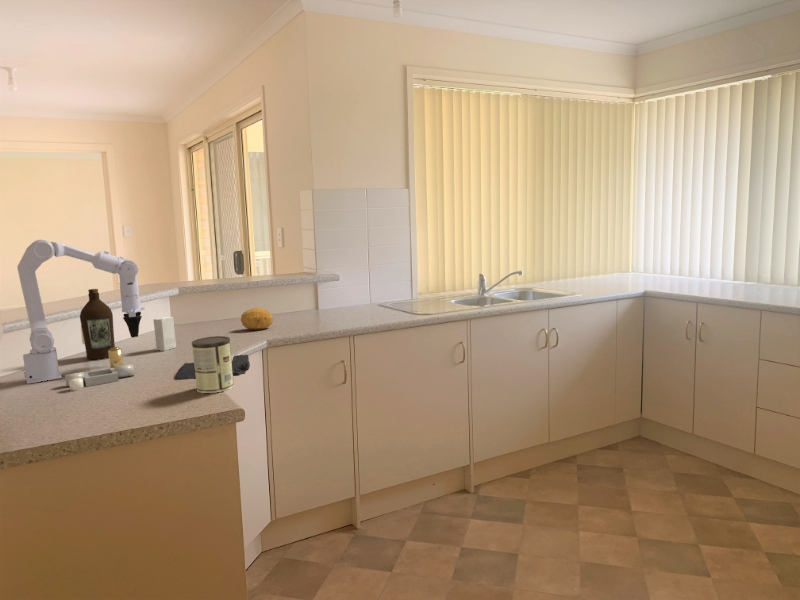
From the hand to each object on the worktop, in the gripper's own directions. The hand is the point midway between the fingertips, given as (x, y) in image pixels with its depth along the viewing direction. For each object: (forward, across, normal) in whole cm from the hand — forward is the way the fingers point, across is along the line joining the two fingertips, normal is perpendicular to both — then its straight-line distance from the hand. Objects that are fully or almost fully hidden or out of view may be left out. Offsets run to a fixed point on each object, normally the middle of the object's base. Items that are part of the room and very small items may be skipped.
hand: (134, 335), depth 206 cm
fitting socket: (+10, -18, +11) cm, 23 cm away
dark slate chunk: (+11, -28, -22) cm, 37 cm away
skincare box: (+10, +19, -10) cm, 24 cm away
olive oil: (+10, +20, +12) cm, 26 cm away
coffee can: (+10, -48, -20) cm, 53 cm away
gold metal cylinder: (+10, -6, +6) cm, 13 cm away
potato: (+10, +37, -48) cm, 62 cm away
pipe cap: (+10, -24, +17) cm, 31 cm away
